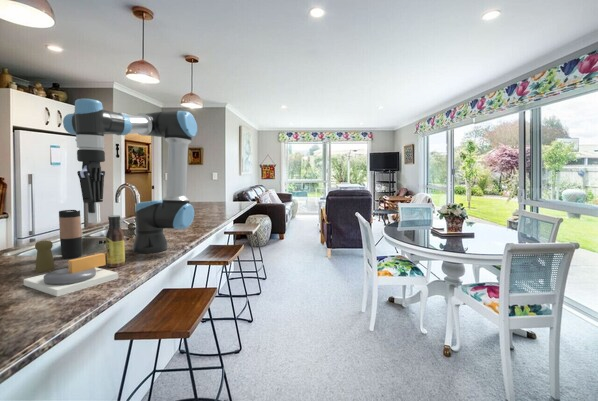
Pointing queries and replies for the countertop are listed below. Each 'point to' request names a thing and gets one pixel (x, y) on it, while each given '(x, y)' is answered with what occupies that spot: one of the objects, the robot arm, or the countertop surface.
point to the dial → (76, 270)
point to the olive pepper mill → (44, 256)
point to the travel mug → (70, 234)
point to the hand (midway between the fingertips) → (94, 222)
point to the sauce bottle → (115, 243)
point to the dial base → (64, 289)
